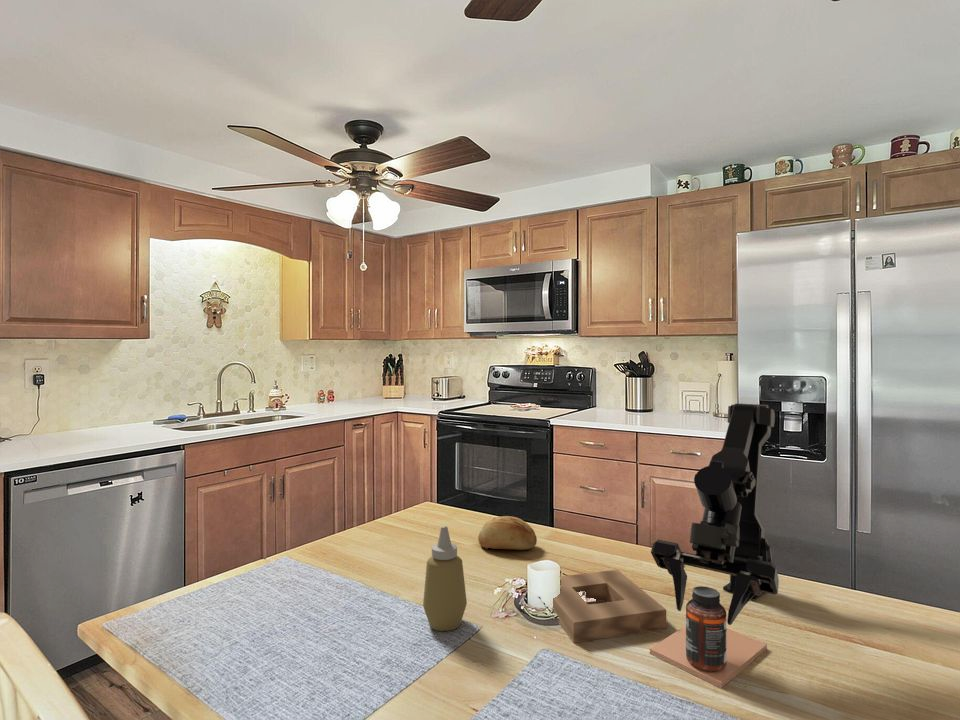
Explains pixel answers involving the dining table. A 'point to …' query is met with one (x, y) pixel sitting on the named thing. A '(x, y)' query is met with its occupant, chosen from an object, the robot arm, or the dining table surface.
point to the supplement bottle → (706, 630)
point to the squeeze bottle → (444, 585)
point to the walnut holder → (606, 607)
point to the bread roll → (507, 534)
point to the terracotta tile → (737, 655)
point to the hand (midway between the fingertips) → (703, 616)
